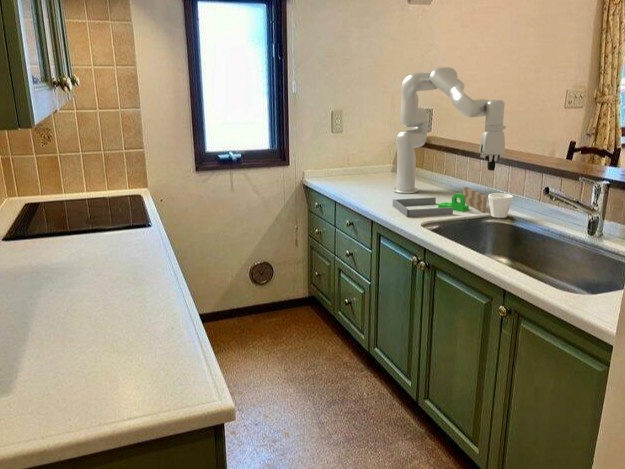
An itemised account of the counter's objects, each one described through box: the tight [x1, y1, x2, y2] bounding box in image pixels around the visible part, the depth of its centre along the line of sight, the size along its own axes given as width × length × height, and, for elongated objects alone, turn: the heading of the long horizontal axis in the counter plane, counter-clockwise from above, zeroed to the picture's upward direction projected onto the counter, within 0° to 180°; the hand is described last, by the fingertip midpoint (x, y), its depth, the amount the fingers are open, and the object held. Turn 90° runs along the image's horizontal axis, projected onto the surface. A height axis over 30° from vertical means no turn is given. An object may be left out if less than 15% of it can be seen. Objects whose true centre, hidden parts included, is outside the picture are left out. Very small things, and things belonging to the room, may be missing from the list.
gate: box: [462, 186, 488, 213], centre depth 241 cm, size 21×2×7 cm, turn 9°
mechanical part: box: [437, 192, 470, 213], centre depth 238 cm, size 12×6×8 cm, turn 48°
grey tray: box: [392, 196, 454, 218], centre depth 238 cm, size 21×21×3 cm
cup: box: [487, 192, 514, 219], centre depth 223 cm, size 10×10×9 cm
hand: (491, 170), depth 238 cm, fingers closed
